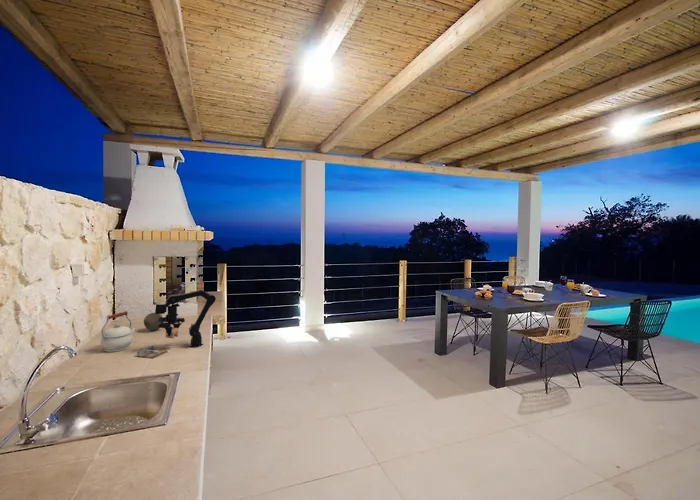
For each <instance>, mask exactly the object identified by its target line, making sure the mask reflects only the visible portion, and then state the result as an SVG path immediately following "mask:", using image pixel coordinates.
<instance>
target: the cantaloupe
mask: <svg viewBox="0 0 700 500" xmlns="http://www.w3.org/2000/svg"><path fill="white" fill-rule="evenodd" d="M159 317H163V316H162V314H155V312H151V313H148V314H146V316H145V317H144V319H143V325H144V327H145V328H146V329H147V330H148V331H153V332H155V331H157V330H160V328H159V324H160V323H161V322H159ZM162 323H163V322H162Z"/></svg>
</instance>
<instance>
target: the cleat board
mask: <svg viewBox="0 0 700 500" xmlns="http://www.w3.org/2000/svg"><path fill="white" fill-rule="evenodd" d="M166 353H168V350H164V349H156V348H155V345H151V346H148V347H145V348H143V349H141V350H137V351H136V354H137V356H136V357H138V358H144V359H145V358H146V359H154V358H157V357H159V356H162V355H165V354H166Z"/></svg>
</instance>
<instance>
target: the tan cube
mask: <svg viewBox="0 0 700 500" xmlns="http://www.w3.org/2000/svg"><path fill="white" fill-rule="evenodd" d="M171 327H172V330H171V334H170V336H168V334H167V332H166V331H165V338H167V339H175V337H176V338H177V337H179V328H174V326H171Z"/></svg>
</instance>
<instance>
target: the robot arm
mask: <svg viewBox="0 0 700 500" xmlns="http://www.w3.org/2000/svg"><path fill="white" fill-rule="evenodd" d="M196 297H202V298H204V299H205V301H204V305H203V307H202V309H201V311H200V313H199V314H198V317H197V318H196V320H195V322H194V323H191V325H190V327H189V328H188V333H189V336H190V337H191V339H190V345H189V347H193V348H198V347H199V348H200V347H201V346H203V345H204V344H203V343H202V342H203V337H202V333H201V331H200V328H201V325H202V323H203V321H204V319H205V317H206V315H207V314H208V311H209V309H210V308H211V307H212V306H213V305H214V303H215V302H216V300H217V299H216V298H217V297H216V296H215V294H213V293H208V292H207V291H204V290H203V289H198V290H195V291H190V292H186V293H182V294H170V295H169V296H168V297H167V301H166V302H164V303H161V304H160V303H156V304H155V310H154V313H155V314H161V315H162V314H163V315H165V313H167V314H166V315H165V317H163V316H162V317H159V322H161V323H160V324H159V329H164V330H165V333H166V332H167V334H168V336H170V334H171V330H172V327H173V328H178V329H179V328H180V326H181V325H182V324H183V323H185V322H186V321H185V320H186V319H185V318H184V317H178V316H179V313H178V307H180V306H181V304H179V302H182V301H184V300H188V299H191V298H196ZM162 322H163V323H162Z"/></svg>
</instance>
